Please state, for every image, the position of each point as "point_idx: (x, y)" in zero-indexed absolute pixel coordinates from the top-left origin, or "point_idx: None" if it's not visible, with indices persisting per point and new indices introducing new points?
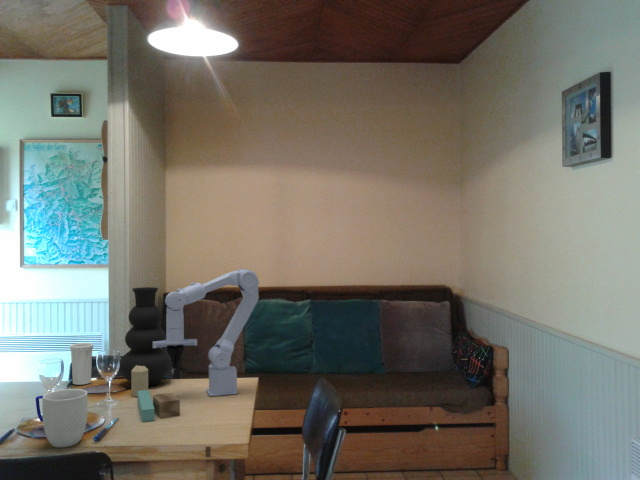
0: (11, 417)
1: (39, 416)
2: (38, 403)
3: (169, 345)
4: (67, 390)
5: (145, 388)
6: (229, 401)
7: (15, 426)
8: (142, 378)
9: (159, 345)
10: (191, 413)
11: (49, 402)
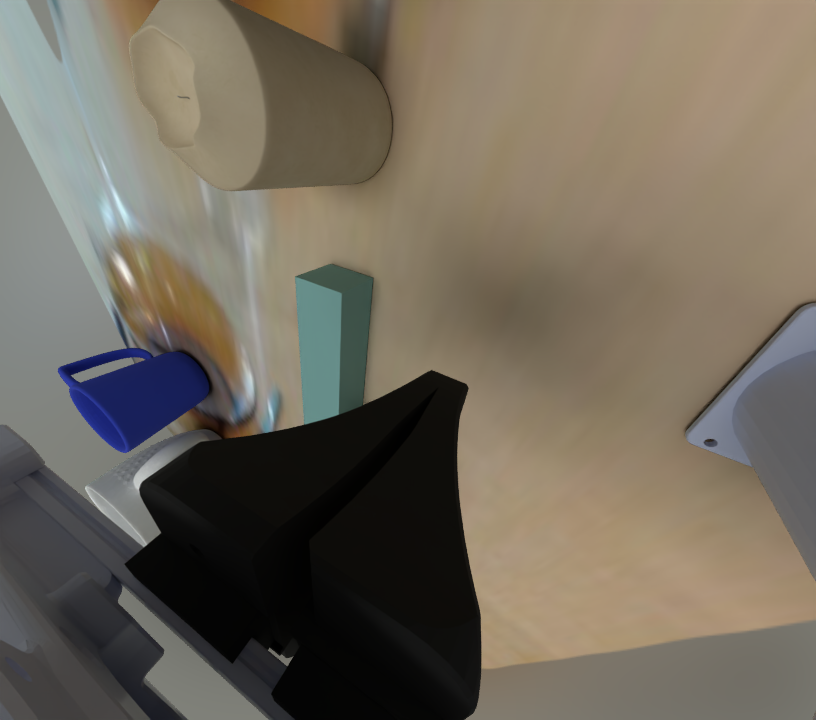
0: (64, 209)
1: (124, 357)
2: (84, 368)
3: (171, 626)
4: (105, 495)
5: (346, 177)
6: (699, 548)
7: (109, 294)
8: (278, 188)
9: (47, 535)
10: (463, 513)
11: (119, 520)
